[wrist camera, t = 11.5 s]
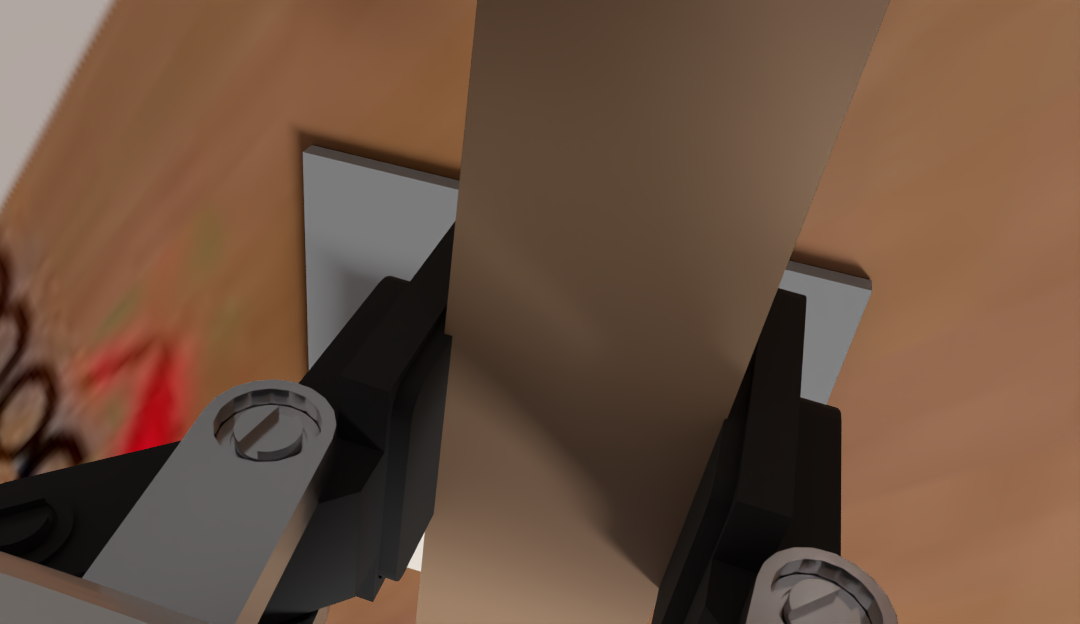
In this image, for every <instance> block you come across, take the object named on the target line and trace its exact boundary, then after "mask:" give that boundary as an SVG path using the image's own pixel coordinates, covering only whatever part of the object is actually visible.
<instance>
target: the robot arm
mask: <svg viewBox="0 0 1080 624" xmlns="http://www.w3.org/2000/svg"><path fill="white" fill-rule="evenodd" d="M454 231H455V222H454V223H453V225H452V226H451V227H450V229H449V230H448V231H447V233H446V234H445V235H444V237H443V238H442V239H441V241H440V242H439V243H438V245H437V246H436V247H435V249H434V250H433V251H432V253H431V254H430V255H429V257H428V258H427V259H426V261H425V262H424V263H423V265H422V266H421V267H420V269H419V270H418V271H417V273H416V274H415V276H414V277H413V278H412V280H411V281H407V280H403V279H400V278H397V277H393V276H386V277H384V278H383V279H382V280H381V281H380V282H379V283H378V285H377V286H376V287H375V288H374V290H373V291H372V292H371V293H370V295H369V296H368V297H367V298H366V300H365V301H364V302H363V303H362V305H361V306H360V307H359V308H358V310H357V311H356V312H355V313H354V315H353V316H352V317H351V318H350V320H349V321H348V322H347V323H346V325H345V326H344V327H343V328H342V330H341V331H340V332H339V334H338V335H337V336H336V337H335V339H334V340H333V341H332V342H331V344H330V345H329V346H328V347H327V349H326V350H325V351H324V352H323V354H322V355H321V356H320V357H319V359H318V360H317V361H316V362H315V364H314V365H313V366H312V367H311V369H310V370H309V371H308V372H307V374H306V375H305V376H304V377H303V379H302V380H301V381H300V382H299V384H298V383H295V382H289V381H281V380H263V381H253V382H249V383H246V384H242V385H239V386H235V387H233V388H231V389H229V390H227V391H226V392H224V393H222V394H220V395H218V396H217V397H216V398H215V399H214V400H213V401H212V402H211V403H210V404H209V405H208V406H207V407H206V408H205V409H204V410H203V412H202V413H201V414H200V416H199V417H198V419H197V420H196V421H195V423H194V424H193V425H192V427H191V428H190V430H189V431H188V432H187V434H186V435H185V437H184V438H183V439H182V441H178V442H174V443H169V444H165V445H161V446H157V447H153V448H148V449H144V450H140V451H136V452H132V453H127V454H123V455H119V456H115V457H110V458H106V459H102V460H98V461H94V462H89V463H85V464H81V465H77V466H73V467H68V468H64V469H60V470H56V471H52V472H47V473H43V474H39V475H35V476H30V477H26V478H22V479H18V480H14V481H9V482H5V483H2V484H0V624H325V622H326V620H327V616H328V612H329V608H330V605H333V604H336V603H338V602H341V601H344V600H347V599H350V598H353V597H355V596H357V597H360V598H363V599H366V600H369V601H372V602H373V601H374V599H375V597H376V595H377V593H378V591H379V589H380V587H381V586H382V584H383V582H384V580H385V578H388V579H391V580H394V581H399V580H400V579H401V577H402V576H403V574H404V572H405V570H406V568H407V566H408V564H409V562H410V560H411V558H412V556H413V554H414V552H415V550H416V548H417V546H418V544H419V542H420V540H421V538H422V536H423V534H424V532H425V530H426V528H427V526H428V524H429V522H430V521H431V519H432V517H433V515H434V507H435V497H436V488H437V478H438V469H439V460H440V450H441V441H442V432H443V422H444V413H445V403H446V394H447V385H448V375H449V366H450V357H451V347H452V338H453V336H451V335H447V334H444V332H445V322H446V312H447V302H448V292H449V282H450V272H451V262H452V252H453V241H454ZM806 303H807V297H806V296H805V295H802V294H798V293H795V292H791V291H788V290H784V289H781V288H778V290H777V292H776V295H775V297H774V300H773V303H772V305H771V308H770V310H769V313H768V315H767V318H766V320H765V323H764V326H763V328H762V331H761V333H760V336H759V338H758V341H757V344H756V346H755V349H754V351H753V354H752V356H751V359H750V362H749V364H748V367H747V369H746V372H745V374H744V377H743V379H742V382H741V385H740V387H739V390H738V392H737V395H736V397H735V400H734V403H733V405H732V408H731V410H730V413H729V415H728V418H727V419H724V422H723V424H722V427H721V430H720V432H719V435H718V437H717V440H716V442H715V445H714V448H713V450H712V453H711V455H710V458H709V461H708V463H707V466H706V468H705V471H704V473H703V476H702V479H701V481H700V484H699V486H698V489H697V492H696V494H695V497H694V499H693V502H692V504H691V507H690V510H689V512H688V515H687V517H686V520H685V522H684V525H683V528H682V530H681V533H680V535H679V538H678V541H677V543H676V546H675V548H674V551H673V553H672V556H671V559H670V561H669V564H668V566H667V569H666V572H665V574H664V577H663V579H662V582H661V584H660V587H659V590H658V595H657V600H656V605H655V610H654V614H653V619H652V624H898V621H897V615H896V613H895V611H894V608H893V606H892V604H891V602H890V600H889V598H888V596H887V595H886V594H885V592H884V591H883V590H882V589H881V587H880V586H879V585H878V584H877V583H876V581H875V580H874V579H873V578H872V577H871V576H869V575H868V574H867V573H866V572H864V571H863V570H862V569H861V568H859V567H858V566H857V565H856V564H854V563H852V562H850V561H848V560H846V559H844V558H842V557H841V412H840V410H839V409H838V408H835V407H832V406H829V405H825V404H822V403H819V402H815V401H812V400H808V399H805V398H802V397H800V396H801V380H802V365H803V349H804V334H805V319H806Z"/></svg>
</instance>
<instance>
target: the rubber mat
mask: <svg viewBox="0 0 1080 624" xmlns="http://www.w3.org/2000/svg"><path fill="white" fill-rule="evenodd" d="M303 178H304V214H305V250H306V286H307V322H308V357H309V370H310V369H311V367H312V366H313V365H314V364H315V362H316V361H317V360H318V359H319V357H320V356H321V355H322V354H323V352H324V351H325V350H326V349H327V347H328V346H329V345H330V344H331V342H332V341H333V340H334V339H335V337H336V336H337V335H338V334H339V332H340V331H341V330H342V328H343V327H344V326H345V325H346V323H347V322H348V321H349V320H350V318H351V317H352V316H353V315H354V313H355V312H356V311H357V310H358V308H359V307H360V306H361V305H362V303H363V302H364V301H365V300H366V298H367V297H368V296H369V295H370V293H371V292H372V291H373V290H374V288H375V287H376V286H377V285H378V283H379V282H380V281H381V280H382V279H383V278H384V277H386V276H393V277H397V278H400V279H403V280H407V281H411V280H412V278H413V277H414V276H415V274H416V273H417V271H418V270H419V269H420V267H421V266H422V265H423V263H424V262H425V261H426V259H427V258H428V257H429V255H430V254H431V253H432V251H433V250H434V249H435V247H436V246H437V245H438V243H439V242H440V241H441V239H442V238H443V237H444V235H445V234H446V233H447V231H448V230H449V229H450V227H451V226H452V225H453V223H454V222H455V221H456V211H457V201H458V191H459V180H455V179H451V178H446V177H442V176H438V175H434V174H430V173H426V172H422V171H418V170H413V169H409V168H405V167H401V166H397V165H393V164H389V163H385V162H380V161H376V160H372V159H368V158H364V157H360V156H356V155H351V154H347V153H343V152H339V151H335V150H331V149H327V148H323V147H318V146H314V145H311V146H309V147H308V148H307V149H306V150H305V151H303ZM778 288H781V289H784V290H788V291H791V292H795V293H798V294H802V295H805V296H806V297H807V303H806V319H805V334H804V349H803V365H802V380H801V396H800V397H802V398H805V399H808V400H812V401H815V402H819V403H822V404H825V405H826V404H827V401H828V399H829V396H830V394H831V391H832V389H833V387H834V384H835V382H836V379H837V377H838V374H839V372H840V369H841V367H842V364H843V362H844V359H845V357H846V354H847V352H848V349H849V347H850V344H851V342H852V339H853V337H854V334H855V332H856V329H857V327H858V324H859V322H860V319H861V317H862V314H863V312H864V309H865V307H866V305H867V302H868V300H869V297H870V295H871V292H872V282H871V280H868V279H864V278H860V277H856V276H851V275H847V274H843V273H839V272H835V271H831V270H827V269H823V268H818V267H814V266H810V265H806V264H802V263H798V262H794V261H789V262H788V264H787V267H786V269H785V272H784V274H783V277H782V279H781V282H780V285H779V287H778ZM655 604H656V603H655Z"/></svg>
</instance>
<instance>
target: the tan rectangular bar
mask: <svg viewBox="0 0 1080 624" xmlns="http://www.w3.org/2000/svg"><path fill="white" fill-rule="evenodd" d="M889 3H890V0H477V9H476V19H475V29H474V39H473V49H472V59H471V69H470V79H469V90H468V100H467V110H466V120H465V130H464V140H463V150H462V160H461V171H460V181H459V191H458V201H457V211H456V221H455V231H454V241H453V252H452V262H451V272H450V282H449V292H448V302H447V312H446V322H445V332H444V334H447V335H451V336H453V338H452V347H451V357H450V366H449V375H448V385H447V394H446V403H445V413H444V422H443V432H442V441H441V450H440V460H439V469H438V478H437V488H436V497H435V507H434V515H433V517H432V519H431V521H430V522H429V524H428V526H427V528H426V530H425V535H424V545H423V555H422V565H421V575H420V586H419V596H418V606H417V616H416V624H647V623H648V620H649V618H650V615H651V613H652V610H653V608H654V605H655V603H656V600H657V595H658V590H659V587H660V584H661V582H662V579H663V577H664V574H665V572H666V569H667V566H668V564H669V561H670V559H671V556H672V553H673V551H674V548H675V546H676V543H677V541H678V538H679V535H680V533H681V530H682V528H683V525H684V522H685V520H686V517H687V515H688V512H689V510H690V507H691V504H692V502H693V499H694V497H695V494H696V492H697V489H698V486H699V484H700V481H701V479H702V476H703V473H704V471H705V468H706V466H707V463H708V461H709V458H710V455H711V453H712V450H713V448H714V445H715V442H716V440H717V437H718V435H719V432H720V430H721V427H722V424H723V422H724V419H727V418H728V415H729V413H730V410H731V408H732V405H733V403H734V400H735V397H736V395H737V392H738V390H739V387H740V385H741V382H742V379H743V377H744V374H745V372H746V369H747V367H748V364H749V362H750V359H751V356H752V354H753V351H754V349H755V346H756V344H757V341H758V338H759V336H760V333H761V331H762V328H763V326H764V323H765V320H766V318H767V315H768V313H769V310H770V308H771V305H772V303H773V300H774V297H775V295H776V292H777V290H778V287H779V285H780V282H781V279H782V277H783V274H784V272H785V269H786V267H787V264H788V262H789V259H790V256H791V254H792V251H793V249H794V246H795V244H796V241H797V238H798V236H799V233H800V231H801V228H802V226H803V223H804V221H805V218H806V215H807V213H808V210H809V208H810V205H811V203H812V200H813V197H814V195H815V192H816V190H817V187H818V185H819V182H820V179H821V177H822V174H823V172H824V169H825V167H826V164H827V162H828V159H829V156H830V154H831V151H832V149H833V146H834V144H835V141H836V138H837V136H838V133H839V131H840V128H841V126H842V123H843V121H844V118H845V115H846V113H847V110H848V108H849V105H850V103H851V100H852V97H853V95H854V92H855V90H856V87H857V85H858V82H859V79H860V77H861V74H862V72H863V69H864V67H865V64H866V62H867V59H868V56H869V54H870V51H871V49H872V46H873V44H874V41H875V38H876V36H877V33H878V31H879V28H880V26H881V23H882V21H883V18H884V15H885V13H886V10H887V8H888V5H889Z"/></svg>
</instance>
